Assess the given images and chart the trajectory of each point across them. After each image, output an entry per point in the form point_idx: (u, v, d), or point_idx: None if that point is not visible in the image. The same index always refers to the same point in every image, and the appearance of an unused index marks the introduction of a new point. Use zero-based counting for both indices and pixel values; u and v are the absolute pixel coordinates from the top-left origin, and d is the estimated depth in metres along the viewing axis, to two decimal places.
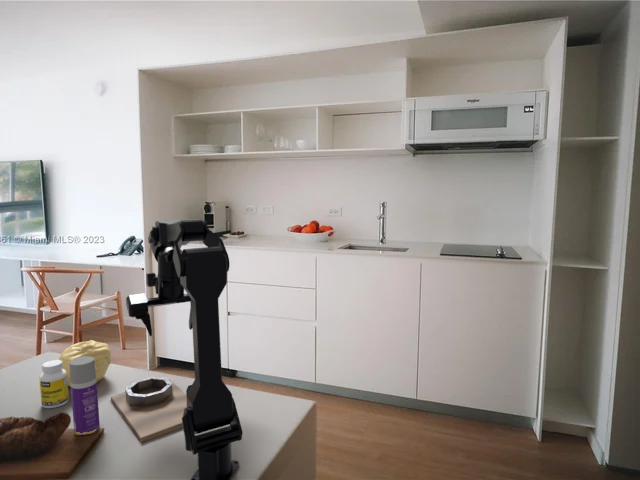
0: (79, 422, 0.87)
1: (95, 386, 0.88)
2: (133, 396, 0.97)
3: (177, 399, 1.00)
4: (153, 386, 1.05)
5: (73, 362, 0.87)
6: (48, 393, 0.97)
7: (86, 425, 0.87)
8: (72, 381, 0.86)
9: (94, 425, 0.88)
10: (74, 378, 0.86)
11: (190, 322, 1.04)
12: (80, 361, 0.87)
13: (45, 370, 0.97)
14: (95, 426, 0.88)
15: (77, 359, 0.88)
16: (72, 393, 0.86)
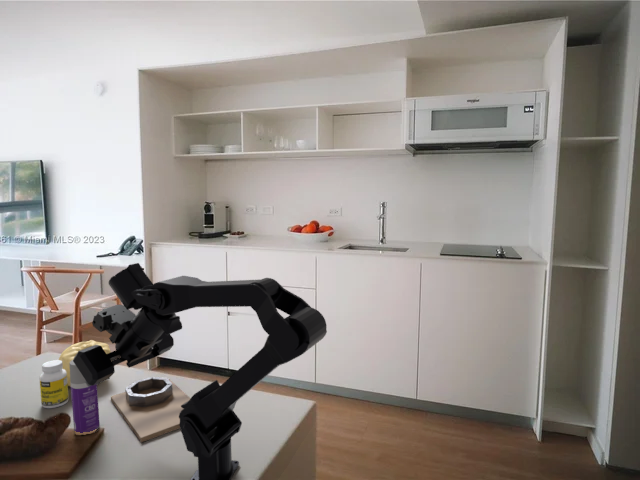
0: (79, 422, 0.87)
1: (95, 386, 0.88)
2: (133, 396, 0.97)
3: (177, 399, 1.00)
4: (153, 386, 1.05)
5: (73, 362, 0.87)
6: (48, 393, 0.97)
7: (86, 425, 0.87)
8: (72, 381, 0.86)
9: (94, 425, 0.88)
10: (74, 378, 0.86)
11: (133, 362, 0.88)
12: None
13: (45, 370, 0.97)
14: (95, 426, 0.88)
15: None
16: (72, 393, 0.86)
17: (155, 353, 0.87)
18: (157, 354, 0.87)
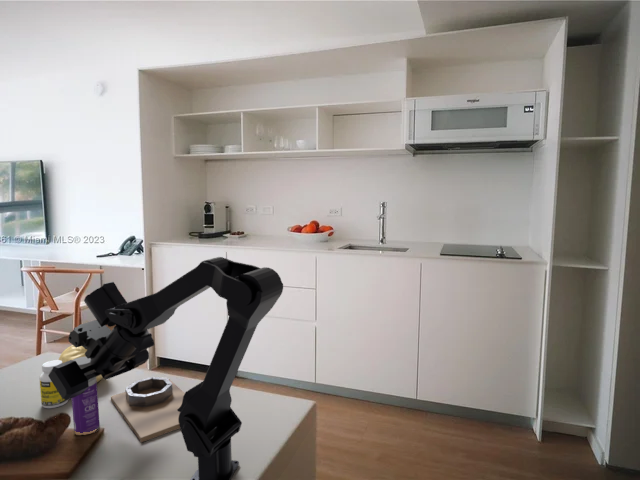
0: (79, 422, 0.87)
1: (95, 386, 0.88)
2: (133, 396, 0.97)
3: (177, 399, 1.00)
4: (153, 386, 1.05)
5: None
6: (48, 393, 0.97)
7: (86, 425, 0.87)
8: None
9: (94, 425, 0.88)
10: None
11: (110, 374, 0.91)
12: (80, 361, 0.87)
13: (45, 370, 0.97)
14: (95, 426, 0.88)
15: (77, 359, 0.88)
16: None
17: (131, 366, 0.90)
18: (132, 367, 0.90)
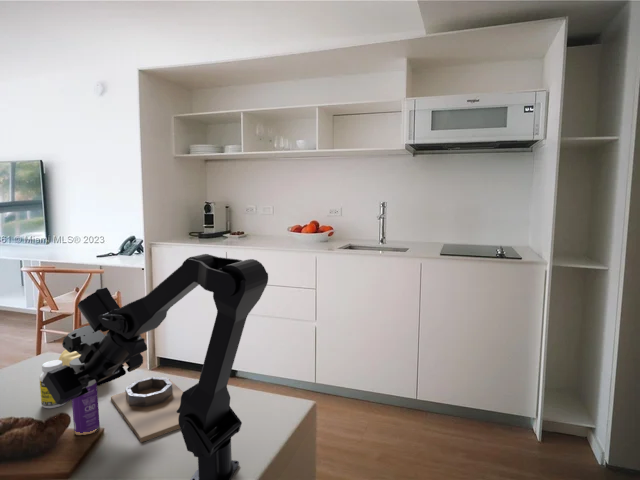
0: (79, 422, 0.87)
1: (95, 386, 0.88)
2: (133, 396, 0.97)
3: (177, 399, 1.00)
4: (153, 386, 1.05)
5: (73, 362, 0.87)
6: (48, 393, 0.97)
7: (86, 425, 0.87)
8: None
9: (94, 425, 0.88)
10: None
11: None
12: None
13: (45, 370, 0.97)
14: (95, 426, 0.88)
15: (77, 359, 0.88)
16: None
17: (116, 375, 0.89)
18: (118, 376, 0.89)
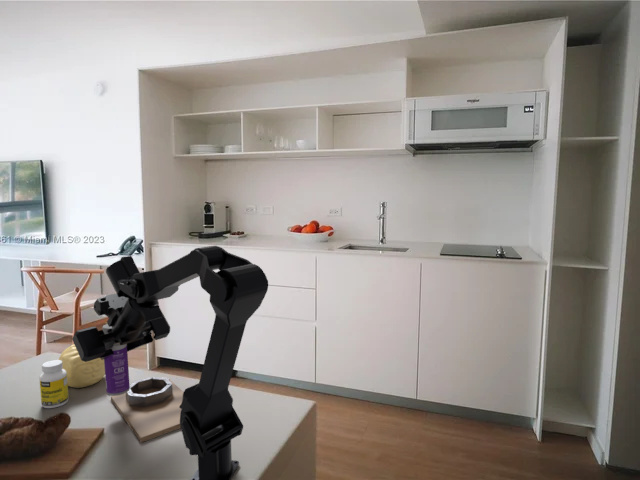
0: (109, 383, 0.93)
1: (124, 350, 0.94)
2: (133, 396, 0.97)
3: (177, 399, 1.00)
4: (153, 386, 1.05)
5: (106, 326, 0.93)
6: (48, 393, 0.97)
7: (115, 386, 0.93)
8: None
9: (123, 387, 0.94)
10: None
11: (127, 348, 0.96)
12: (111, 326, 0.93)
13: (45, 370, 0.97)
14: (124, 388, 0.94)
15: None
16: None
17: (143, 341, 0.94)
18: (145, 342, 0.94)
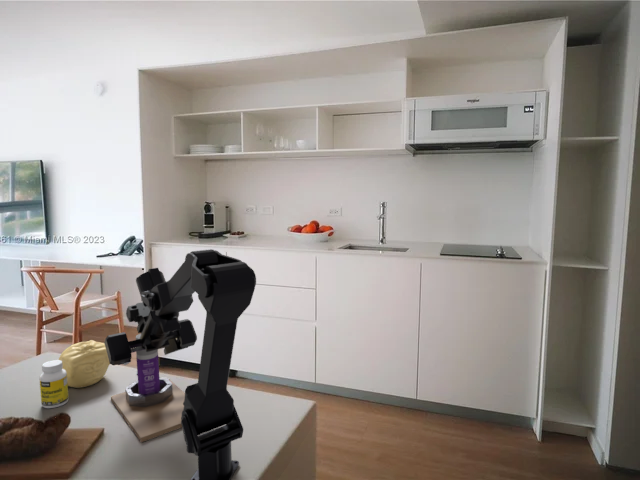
0: (140, 389, 0.99)
1: (155, 360, 0.99)
2: (133, 396, 0.97)
3: (177, 399, 1.00)
4: None
5: (139, 335, 0.99)
6: (48, 393, 0.97)
7: (145, 393, 0.99)
8: (136, 352, 0.98)
9: None
10: None
11: (167, 350, 1.03)
12: None
13: (45, 370, 0.97)
14: None
15: None
16: None
17: (180, 346, 0.99)
18: (181, 347, 0.99)
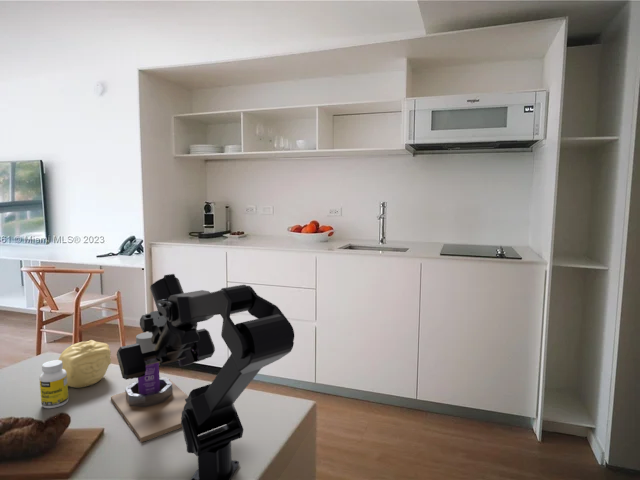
0: (140, 389, 0.99)
1: None
2: (133, 396, 0.97)
3: (177, 399, 1.00)
4: None
5: (139, 335, 0.99)
6: (48, 393, 0.97)
7: (145, 393, 0.99)
8: None
9: None
10: None
11: (182, 362, 0.96)
12: (144, 336, 0.99)
13: (45, 370, 0.97)
14: None
15: (144, 333, 1.00)
16: None
17: (196, 358, 0.93)
18: None
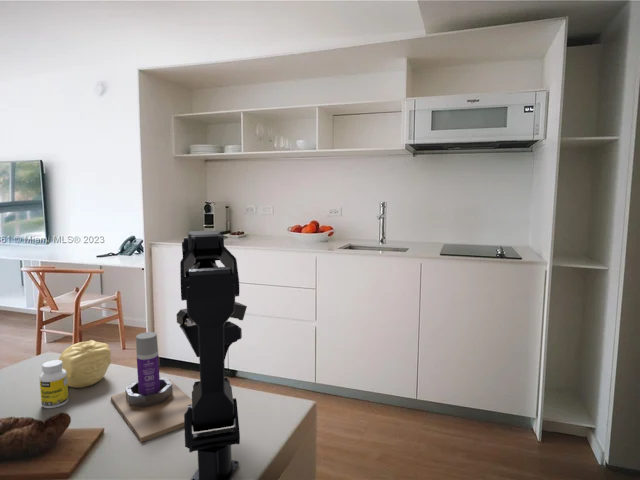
0: (140, 389, 0.99)
1: (155, 360, 0.99)
2: (133, 396, 0.97)
3: (177, 399, 1.00)
4: None
5: (139, 335, 0.99)
6: (48, 393, 0.97)
7: (145, 393, 0.99)
8: None
9: None
10: (138, 349, 0.98)
11: None
12: (144, 336, 0.99)
13: (45, 370, 0.97)
14: None
15: (144, 333, 1.00)
16: (137, 362, 0.99)
17: None
18: None
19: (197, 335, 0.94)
